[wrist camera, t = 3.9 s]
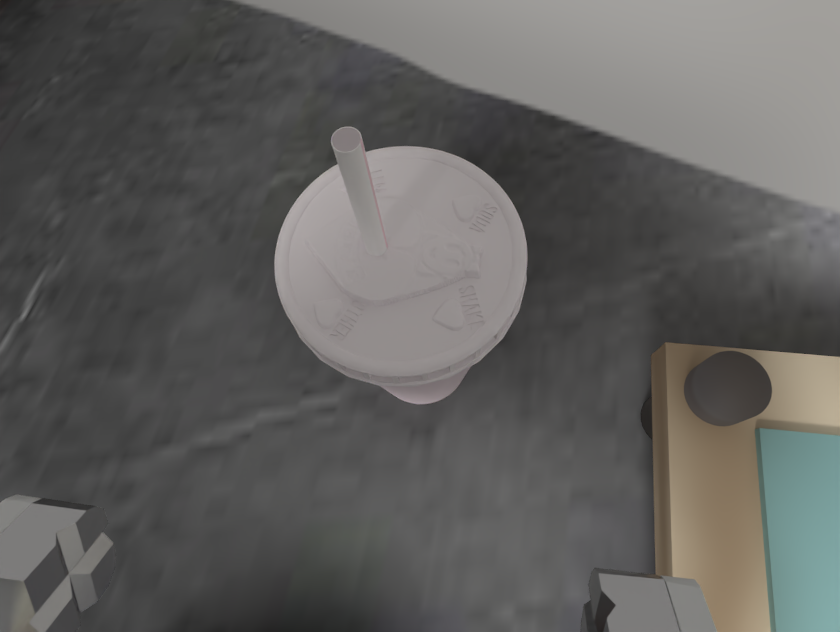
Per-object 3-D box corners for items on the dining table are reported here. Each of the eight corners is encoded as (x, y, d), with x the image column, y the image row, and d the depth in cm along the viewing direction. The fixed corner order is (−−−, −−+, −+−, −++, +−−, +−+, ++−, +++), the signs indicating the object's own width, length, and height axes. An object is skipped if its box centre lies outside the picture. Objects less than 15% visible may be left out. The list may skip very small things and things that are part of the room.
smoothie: (358, 276, 25) (249, -7, 12) (510, 294, 24) (573, 16, 11) (327, 426, 23) (151, 286, 10) (492, 451, 22) (544, 336, 9)
